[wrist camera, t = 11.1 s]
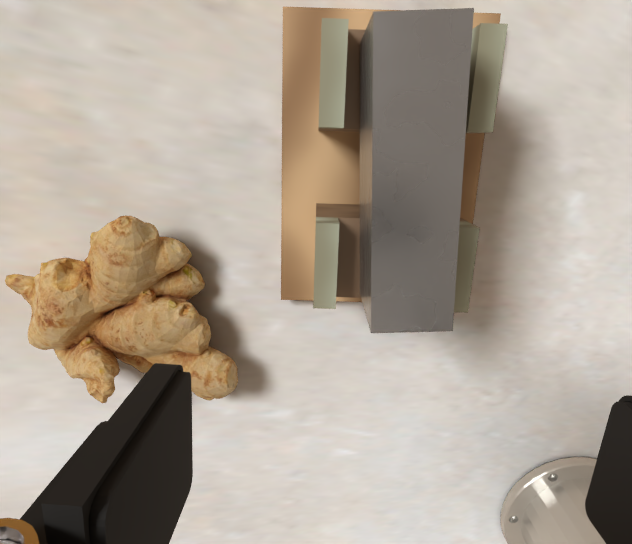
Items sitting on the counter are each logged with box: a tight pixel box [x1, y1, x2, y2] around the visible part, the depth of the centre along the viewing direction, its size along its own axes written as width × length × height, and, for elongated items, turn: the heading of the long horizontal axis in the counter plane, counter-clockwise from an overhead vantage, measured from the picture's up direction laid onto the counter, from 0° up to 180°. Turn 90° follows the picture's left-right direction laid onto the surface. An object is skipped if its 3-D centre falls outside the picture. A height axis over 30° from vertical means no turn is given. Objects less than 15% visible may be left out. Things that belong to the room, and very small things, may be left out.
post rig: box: [281, 7, 508, 313], centre depth 28 cm, size 14×20×10 cm
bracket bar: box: [360, 8, 474, 333], centre depth 22 cm, size 4×14×6 cm, turn 2°
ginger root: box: [5, 216, 238, 403], centre depth 33 cm, size 16×16×8 cm
